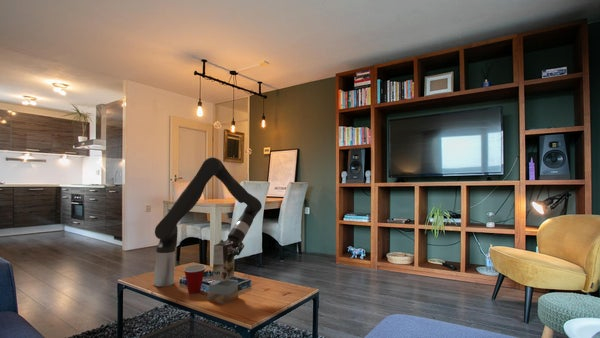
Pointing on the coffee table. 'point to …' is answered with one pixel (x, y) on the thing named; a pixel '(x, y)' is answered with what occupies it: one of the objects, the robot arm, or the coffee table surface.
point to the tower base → (222, 297)
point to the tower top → (223, 287)
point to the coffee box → (222, 262)
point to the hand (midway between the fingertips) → (221, 260)
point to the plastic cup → (194, 277)
